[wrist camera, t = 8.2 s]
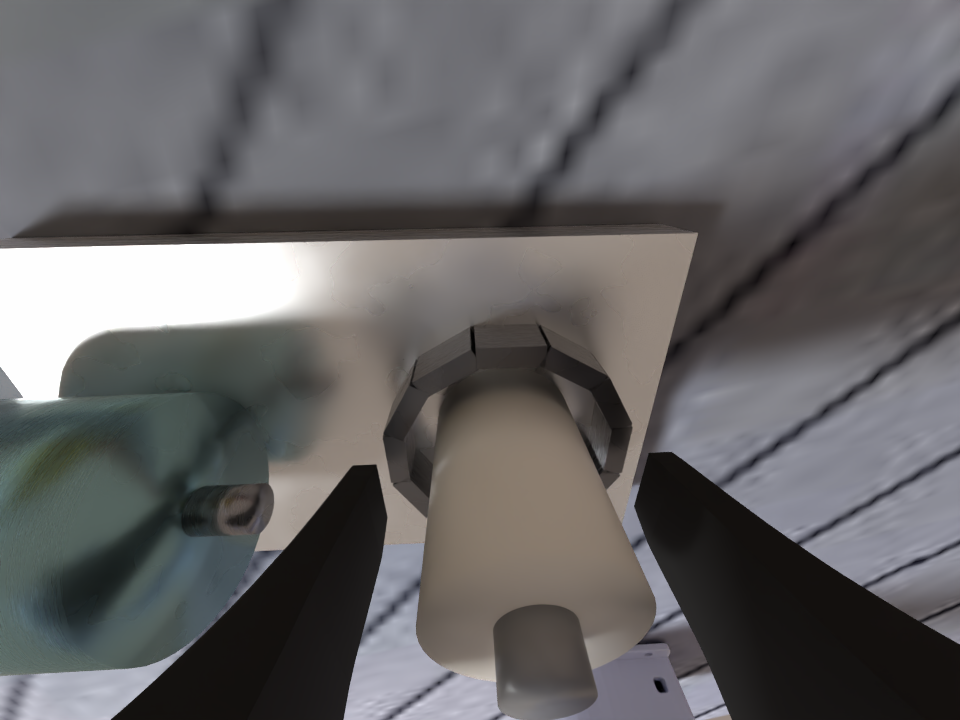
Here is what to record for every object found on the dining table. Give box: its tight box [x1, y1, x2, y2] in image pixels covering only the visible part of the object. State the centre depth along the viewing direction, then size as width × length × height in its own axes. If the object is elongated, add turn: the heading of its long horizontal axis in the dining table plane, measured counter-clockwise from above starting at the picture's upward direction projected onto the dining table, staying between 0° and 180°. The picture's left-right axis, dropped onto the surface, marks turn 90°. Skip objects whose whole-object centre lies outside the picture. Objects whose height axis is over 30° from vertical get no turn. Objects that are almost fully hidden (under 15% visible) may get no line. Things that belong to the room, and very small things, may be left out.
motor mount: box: [0, 224, 698, 676], centre depth 10 cm, size 20×12×8 cm, turn 91°
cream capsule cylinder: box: [416, 368, 656, 720], centre depth 9 cm, size 4×4×7 cm
